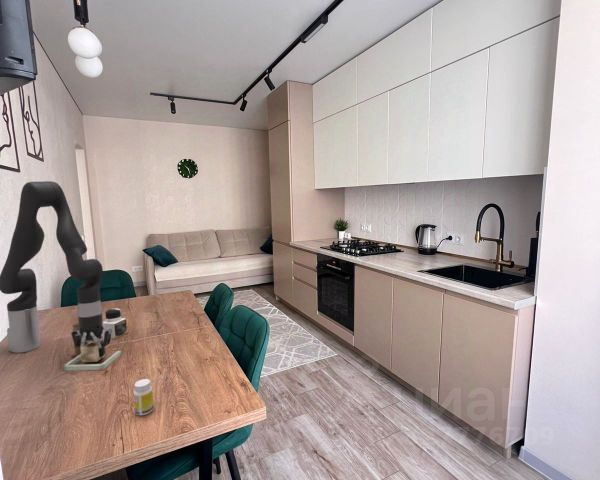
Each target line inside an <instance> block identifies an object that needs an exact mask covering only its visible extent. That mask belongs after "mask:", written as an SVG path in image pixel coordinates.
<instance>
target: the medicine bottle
mask: <svg viewBox="0 0 600 480" xmlns="http://www.w3.org/2000/svg"><path fill="white" fill-rule="evenodd" d="M102 326H103V328H104V329H107V330H108V329H111V330H112V332H111V339H112V340H113V339H115V340H116V339H118V338H120V337H121V336H123V335H125V334H127V333H128V329H127V328H128V327H127V319H126V318H125V317H122V311H121V309H120V308H110V309H108V310H106V311H105V320H103V324H102ZM103 334H104V333H102V336H103V338H104V335H103Z"/></svg>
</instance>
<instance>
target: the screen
mask: <svg viewBox="0 0 600 480" xmlns="http://www.w3.org/2000/svg"><path fill="white" fill-rule="evenodd" d="M77 329H78V330H79V329H80V327H79V321H78V322H75V323H74V324H72V332H73V331H75V330H77ZM80 336H81V340H82V337H83V336H82V335H81V334H80ZM98 339H99V338H98ZM89 342H95V341H94V340H89V341H88V343H89ZM73 344H74V343H73ZM73 348H74V353H72V354H71V355H70V356H71V358H73V359H74V358H75V357H77V356H78V355H80V354H81V348H80V347H75V344H74V347H73Z"/></svg>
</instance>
